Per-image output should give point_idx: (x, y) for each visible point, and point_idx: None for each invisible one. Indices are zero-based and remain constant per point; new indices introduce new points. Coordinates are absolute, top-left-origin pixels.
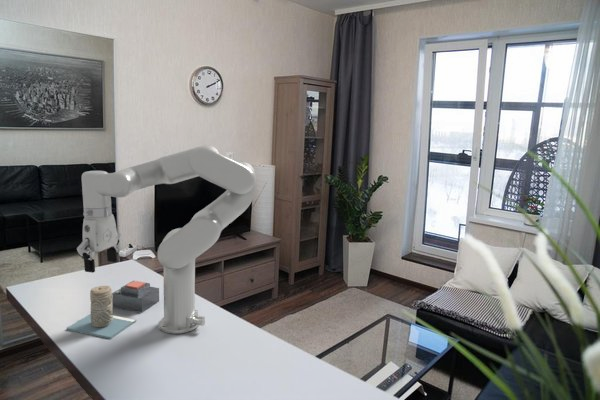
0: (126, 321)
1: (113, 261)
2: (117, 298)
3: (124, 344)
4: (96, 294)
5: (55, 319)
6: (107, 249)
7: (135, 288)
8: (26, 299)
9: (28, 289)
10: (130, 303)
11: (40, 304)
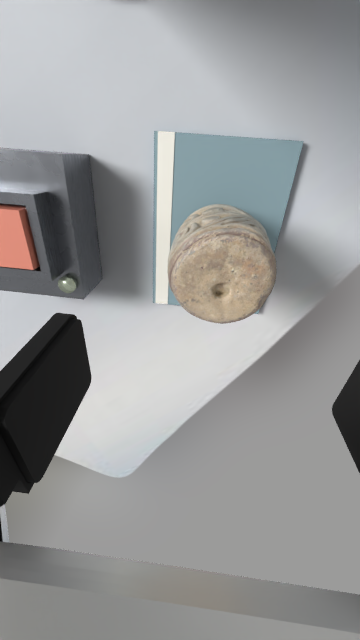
0: (178, 161)
1: (81, 335)
2: (86, 271)
3: (343, 44)
4: (275, 271)
5: (211, 361)
6: (28, 486)
7: (25, 219)
8: (149, 444)
9: (114, 459)
10: (83, 213)
11: (158, 418)
